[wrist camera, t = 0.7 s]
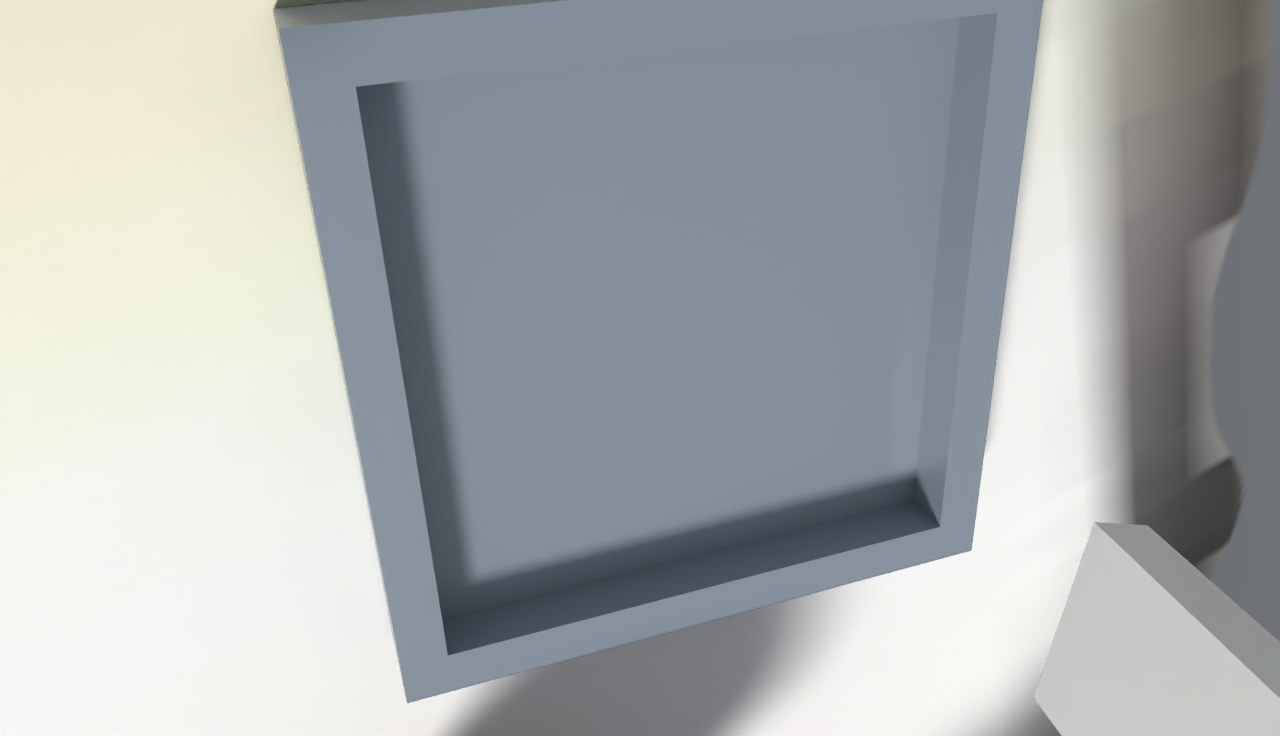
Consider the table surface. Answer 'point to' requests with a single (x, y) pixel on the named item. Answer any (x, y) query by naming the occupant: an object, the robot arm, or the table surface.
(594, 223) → the blue-gray tray
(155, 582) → the table surface
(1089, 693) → the robot arm
